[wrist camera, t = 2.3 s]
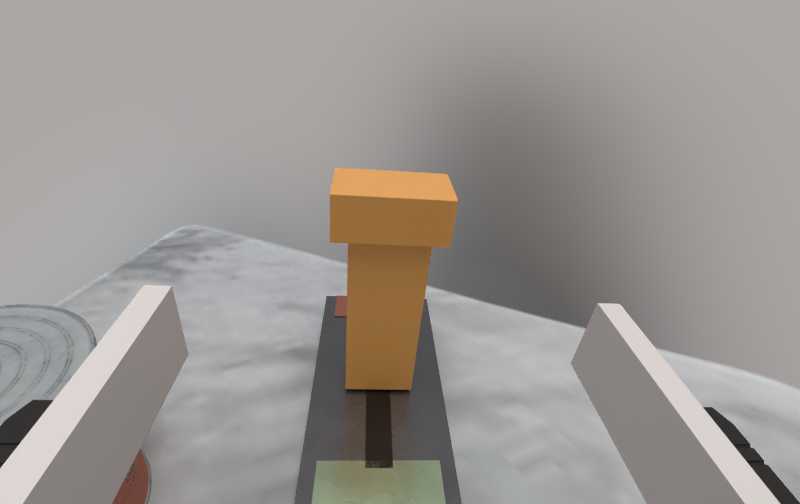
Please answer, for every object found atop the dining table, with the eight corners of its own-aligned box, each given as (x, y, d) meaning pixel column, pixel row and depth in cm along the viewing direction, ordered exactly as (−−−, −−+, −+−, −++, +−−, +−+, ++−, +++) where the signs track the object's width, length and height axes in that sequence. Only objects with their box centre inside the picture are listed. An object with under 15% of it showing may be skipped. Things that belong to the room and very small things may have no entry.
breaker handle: (335, 354, 34) (335, 167, 25) (419, 356, 34) (447, 174, 26) (331, 394, 30) (329, 194, 22) (424, 395, 31) (458, 201, 23)
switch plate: (327, 315, 42) (326, 295, 41) (423, 318, 43) (426, 298, 41) (295, 532, 25) (293, 510, 24) (456, 529, 26) (462, 508, 25)
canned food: (158, 415, 31) (112, 289, 25) (141, 587, 22) (63, 461, 16) (-37, 463, 27) (-152, 326, 21) (-151, 695, 18) (-411, 582, 12)
